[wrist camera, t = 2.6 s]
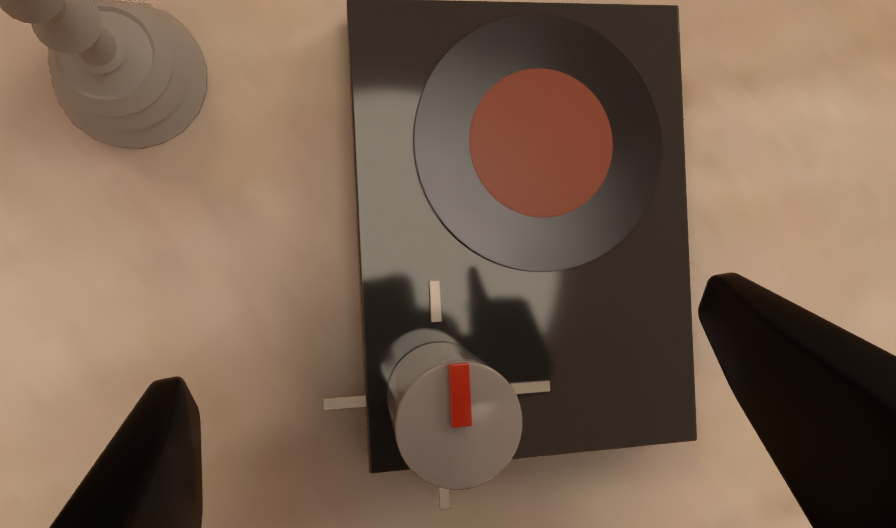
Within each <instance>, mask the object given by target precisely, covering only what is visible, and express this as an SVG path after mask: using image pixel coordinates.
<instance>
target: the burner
mask: <svg viewBox="0 0 896 528" xmlns="http://www.w3.org/2000/svg"><path fill="white" fill-rule="evenodd" d="M413 149H414V157H415V165H416V169H417V173H418V177H419V181H420V183H421V186H422V189H423V191H424V194H425V196H426V198H427V200H428V202H429V204H430V206H431V207H432V209H433V211H434V213H435V214H436V215H437V217H438V218H439V220H440V221H441V222H442V224H443V225H444V226H445V227H446V228H447V229H448V231H449V232H450V233H451V234H452V235H453V236H454V237H455V238H456V239H457V240H459V241H460V242H461V243H462V244H463V245H465V246H466V247H467V248H468V249H470V250H471V251H473V252H475V253H476V254H478V255H480V256H481V257H483V258H485V259H487V260H489V261H492V262H494V263H496V264H498V265H502V266H505V267H508V268H512V269H516V270H522V271H529V272H552V271H561V270H566V269H570V268H574V267H578V266H581V265H583V264H586V263H588V262H590V261H593V260H595V259H597V258H598V257H600V256H602V255H604V254H605V253H607V252H609V251H610V250H611V249H612V248H614V247H615V246H616V245H618V244H619V243H620V242H621V241H622V240H623V239H624V238H625V237H626V236H627V235H628V234H629V233H630V232H631V231H632V230H633V228H634V227H635V226H636V224H637V223H638V222H639V220H640V219H641V218H642V216H643V214H644V212H645V211H646V209H647V207H648V205H649V203H650V201H651V199H652V196H653V194H654V191H655V189H656V185H657V181H658V178H659V174H660V167H661V160H662V134H661V125H660V120H659V116H658V112H657V108H656V105H655V102H654V100H653V97H652V94H651V92H650V90H649V88H648V86H647V84H646V82H645V80H644V78H643V77H642V75H641V74H640V72H639V71H638V69H637V68H636V66H635V65H634V63H633V62H632V61H631V60H630V59H629V58H628V57H627V55H626V54H625V53H624V52H623V51H622V50H621V49H620V48H619V47H617V46H616V45H615V44H614V43H613V42H612V41H611V40H609V39H608V38H606V37H605V36H603V35H602V34H601V33H599V32H597V31H596V30H594V29H592V28H590V27H588V26H586V25H584V24H581V23H579V22H576V21H573V20H571V19H567V18H563V17H558V16H554V15H545V14H522V15H515V16H510V17H505V18H501V19H498V20H496V21H493V22H490V23H487V24H485V25H483V26H481V27H479V28H477V29H475V30H473V31H472V32H471V33H469V34H468V35H466V36H465V37H463V38H462V39H460V40H459V41H458V42H457V43H456V44H455V45H454V46H453V47H452V48H451V49H449V50H448V51H447V53H446V54H445V55H444V56H443V58H442V59H441V60H440V61H439V62H438V64H437V65H436V67H435V68H434V70H433V72H432V73H431V75H430V76H429V78H428V80H427V83H426V85H425V87H424V89H423V92H422V94H421V97H420V100H419V104H418V107H417V110H416V116H415V122H414V131H413Z"/></svg>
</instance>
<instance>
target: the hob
mask: <svg viewBox="0 0 896 528" xmlns="http://www.w3.org/2000/svg"><path fill="white" fill-rule="evenodd" d="M522 14H545V15H554V16H558V17H563V18H567V19H571V20H573V21H576V22H579V23H581V24H584V25H586V26H588V27H590V28H592V29H594V30H596V31H597V32H599V33H601V34H602V35H603V36H605V37H606V38H608V39H609V40H611V41H612V42H613V43H614V44H615V45H616V46H617V47H619V48H620V49H621V50H622V51H623V52H624V53H625V54H626V55H627V57H628V58H629V59H630V60H631V61H632V62H633V63H634V65H635V66H636V68H637V69H638V71H639V72H640V74H641V75H642V77H643V78H644V80H645V82H646V84H647V86H648V88H649V90H650V92H651V94H652V97H653V100H654V102H655V105H656V108H657V112H658V116H659V120H660V125H661V134H662V160H661V167H660V174H659V178H658V181H657V185H656V189H655V191H654V194H653V196H652V199H651V201H650V203H649V205H648V207H647V209H646V211H645V212H644V214H643V216H642V218H641V219H640V220H639V222H638V223H637V224H636V226H635V227H634V228H633V230H632V231H631V232H630V233H629V234H628V235H627V236H626V237H625V238H624V239H623V240H622V241H621V242H620V243H619V244H618V245H616V246H615V247H614V248H612V249H611V250H610V251H609V252H607V253H605V254H604V255H602V256H600V257H598V258H597V259H595V260H593V261H590V262H588V263H586V264H583V265H581V266H578V267H574V268H570V269H566V270H561V271H552V272H529V271H522V270H516V269H512V268H508V267H505V266H502V265H498V264H496V263H494V262H492V261H489V260H487V259H485V258H483V257H481V256H480V255H478V254H476V253H475V252H473V251H471V250H470V249H468V248H467V247H466V246H465V245H463V244H462V243H461V242H460V241H459V240H457V239H456V238H455V237H454V236H453V235H452V234H451V233H450V232H449V231H448V229H447V228H446V227H445V226H444V225H443V224H442V222H441V221H440V220H439V218H438V217H437V215H436V214H435V213H434V211H433V209H432V207H431V206H430V204H429V202H428V200H427V198H426V196H425V194H424V191H423V189H422V186H421V183H420V181H419V177H418V173H417V169H416V165H415V157H414V149H413V131H414V122H415V116H416V110H417V107H418V104H419V100H420V97H421V94H422V92H423V89H424V87H425V85H426V83H427V80H428V78H429V76H430V75H431V73H432V72H433V70H434V68H435V67H436V65H437V64H438V62H439V61H440V60H441V59H442V58H443V56H444V55H445V54H446V53H447V51H448V50H449V49H451V48H452V47H453V46H454V45H455V44H456V43H457V42H458V41H459V40H460V39H462V38H463V37H465V36H466V35H468V34H469V33H471V32H472V31H473V30H475V29H477V28H479V27H481V26H483V25H485V24H487V23H490V22H493V21H496V20H498V19H501V18H505V17H510V16H515V15H522ZM347 33H348V54H349V75H350V96H351V117H352V138H353V158H354V179H355V200H356V221H357V242H358V263H359V284H360V305H361V325H362V346H363V367H364V388H365V395H362V396H350V397H337V398H325V399H323V410H333V409H345V408H357V407H365V409H366V430H367V451H368V464H369V472H370V473H381V472H391V471H400V470H410V468H409V467H408V465H407V464H406V463H405V461H404V459H403V458H402V456H401V453H400V451H399V448H398V445H397V441H396V437H395V433H394V429H393V425H392V422H391V418H390V414H389V410H388V405H387V389H388V384H389V381H390V378H391V375H392V373H393V371H394V369H395V368H396V366H397V365H398V364H399V362H400V361H401V360H402V359H403V358H404V357H405V356H406V355H407V354H409V353H410V352H411V351H413V350H415V349H416V348H418V347H421V346H423V345H426V344H430V343H437V342H445V343H452V344H455V345H459V346H461V347H463V348H465V349H467V350H469V351H470V352H471V353H473V354H474V355H475V356H477V357H478V358H479V359H481V360H482V361H483V362H485V363H486V364H488V365H489V366H490V367H492V368H493V369H494V370H496V371H497V372H498V373H499V374H501V375H502V376H503V377H504V378H505V379H506V380H507V381H508V382H509V384H510V385H511V386H512V388H513V389H514V391H515V393H516V395H517V397H518V400H519V403H520V406H521V410H522V419H523V422H522V434H521V438H520V442H519V445H518V448H517V450H516V452H515V454H514V456H513V458H512V459H519V458H529V457H539V456H548V455H558V454H568V453H578V452H588V451H598V450H608V449H617V448H627V447H637V446H647V445H657V444H667V443H677V442H687V441H695V440H697V431H696V407H695V384H694V360H693V337H692V313H691V290H690V266H689V243H688V219H687V196H686V173H685V149H684V126H683V102H682V79H681V55H680V32H679V8H678V6H674V5H627V4H581V3H535V2H488V1H442V0H347ZM439 508H440V510H443V509H450V489H444V488H439Z"/></svg>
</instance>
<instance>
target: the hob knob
mask: <svg viewBox="0 0 896 528" xmlns="http://www.w3.org/2000/svg"><path fill="white" fill-rule="evenodd" d="M387 405H388V410H389V414H390V418H391V422H392V425H393V429H394V433H395V437H396V441H397V445H398V448H399V451H400V453H401V456H402V458H403V459H404V461H405V463H406V464H407V465H408V467H409V468H410V469H411V470H412V471H413V472H414V473H415V474H416V475H417V476H418V477H419V478H421V479H422V480H424V481H425V482H427V483H429V484H431V485H434V486H436V487H439V488H444V489H451V490H463V489H469V488H473V487H476V486H479V485H481V484H484V483H486V482H488V481H489V480H491V479H493V478H494V477H495V476H497V475H498V474H499V473H500V472H501V471H502V470H503V469H504V468H505V467H506V466H507V465H508V463H509V462H510V461H511V459H512V458H513V456H514V454H515V452H516V450H517V448H518V445H519V442H520V438H521V434H522V422H523V419H522V410H521V406H520V403H519V400H518V397H517V395H516V393H515V391H514V389H513V388H512V386H511V385H510V384H509V382H508V381H507V380H506V379H505V378H504V377H503V376H502V375H501V374H499V373H498V372H497V371H496V370H494V369H493V368H492V367H490V366H489V365H488V364H486V363H485V362H483V361H482V360H481V359H479V358H478V357H477V356H475V355H474V354H473V353H471V352H470V351H469V350H467V349H465V348H463V347H461V346H459V345H455V344H452V343H445V342H437V343H430V344H426V345H423V346H421V347H418V348H416V349H415V350H413V351H411V352H410V353H409V354H407V355H406V356H405V357H404V358H403V359H402V360H401V361H400V362H399V364H398V365H397V366H396V368H395V369H394V371H393V373H392V375H391V378H390V381H389V384H388V389H387Z"/></svg>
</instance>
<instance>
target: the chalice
mask: <svg viewBox="0 0 896 528" xmlns="http://www.w3.org/2000/svg"><path fill="white" fill-rule="evenodd" d="M0 7H1V8H2V10H3V11H4V12H6V13H7V14H8V15H9V16H11V17H12V18H14V19H17V20H19V21H21V22H25V23H31V24H32V27H33V30H34V33H35V34H36V36H37V37H38V38H39V40H40V41H41V42H42V43H43V44H45V45H46V46H47V47H48V64H49V67H50V73H51V76H52V83H53V86H54V89H55V93H56V96H57V99H58V102H59V104H60V106H61V107H62V108H63V110H64V111H65V113H66V114H67V115H68V117H69V118H70V119H71V121H72V122H73V124H75V125H76V126H77V127H79V128H80V129H81V130H83V131H84V132H85V133H87V134H88V135H89V136H91V137H92V138H94V139H96V140H99V141H102V142H104V143H107V144H110V145H113V146H116V147H126V148H145V147H149V146H153V145H157V144H161V143H165V142H166V141H168V140H170V139H171V138H173V137H174V136H176V135H178V134H179V133H181V132H182V131H184V130H185V129H186V128H187V126H188V125H189V124H190V123H191V122H192V120H193V119H194V118H195V117H196V115H197V114H198V113H199V110H200V108H201V105H202V102H203V100H204V97H205V94H206V84H207V68H206V65H205V62H204V59H203V56H202V52H201V49H200V47H199V45H198V44H197V42H196V41H195V40H194V38H193V37H192V35H191V34H190V32H189V31H188V30H187V28H186V27H185V26H183V25H182V24H181V23H180V22H178V21H177V20H176V19H174V18H173V17H172V16H171V15H169V14H168V13H166V12H164V11H161V10H159V9H156V8H154V7H151V6H149V5H146V4H141V3H130V2H122V1H111V0H99V1H94V2H93V0H0Z"/></svg>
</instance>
